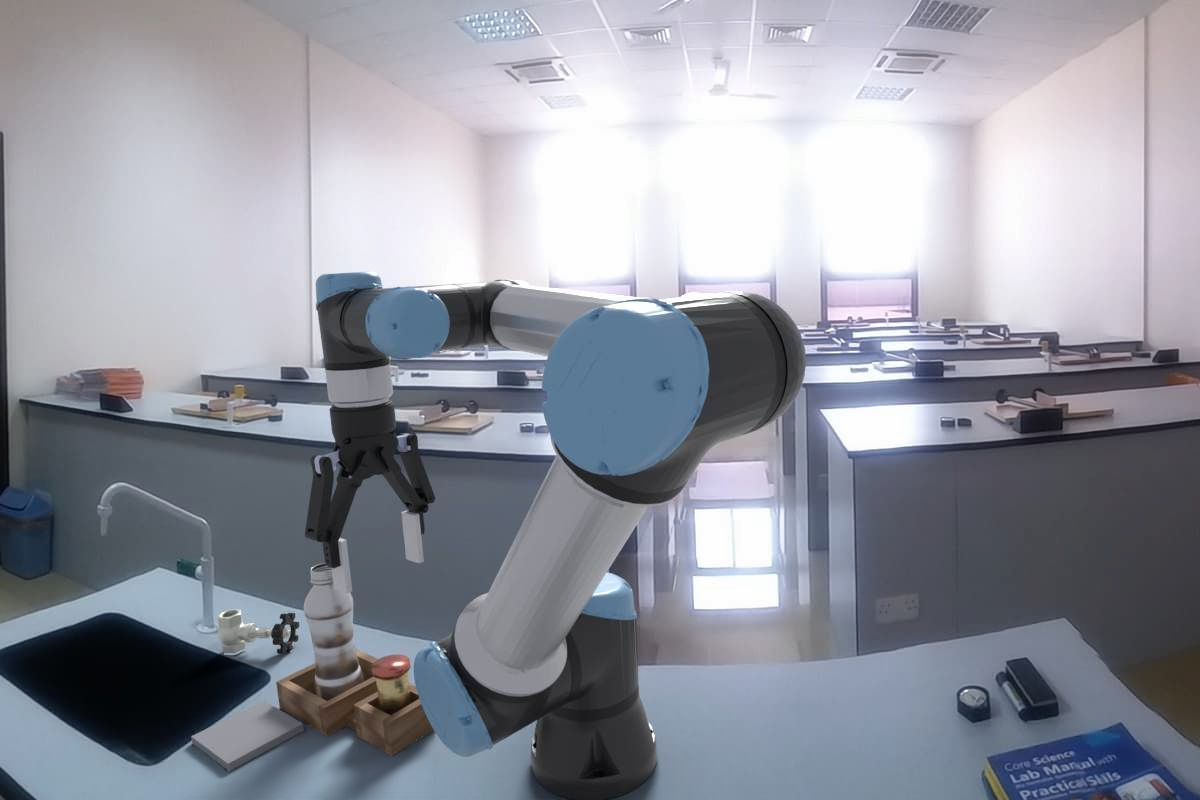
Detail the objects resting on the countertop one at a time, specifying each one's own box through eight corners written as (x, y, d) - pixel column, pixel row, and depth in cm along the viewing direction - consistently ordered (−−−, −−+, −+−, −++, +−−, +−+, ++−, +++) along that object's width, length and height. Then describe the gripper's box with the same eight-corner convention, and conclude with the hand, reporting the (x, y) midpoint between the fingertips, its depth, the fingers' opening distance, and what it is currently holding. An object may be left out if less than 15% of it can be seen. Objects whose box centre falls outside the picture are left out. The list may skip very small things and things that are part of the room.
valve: (210, 661, 123) (280, 662, 121) (204, 622, 121) (275, 623, 120) (235, 641, 129) (302, 642, 127) (229, 604, 128) (297, 604, 126)
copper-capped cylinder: (422, 707, 100) (417, 660, 99) (392, 725, 97) (386, 677, 96) (399, 696, 103) (394, 651, 102) (369, 713, 100) (363, 666, 99)
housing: (451, 718, 103) (448, 687, 102) (377, 765, 94) (373, 732, 93) (353, 670, 117) (349, 643, 116) (279, 707, 108) (275, 678, 107)
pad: (303, 730, 102) (302, 723, 102) (229, 771, 94) (228, 763, 94) (265, 706, 108) (264, 700, 108) (192, 743, 101) (191, 736, 100)
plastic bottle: (351, 715, 105) (334, 577, 101) (306, 712, 106) (288, 576, 103) (374, 690, 111) (359, 559, 108) (331, 687, 112) (315, 558, 109)
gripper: (416, 385, 104) (432, 541, 108) (255, 416, 87) (280, 601, 90) (453, 388, 99) (468, 551, 103) (291, 422, 82) (316, 616, 86)
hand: (380, 574), depth 97 cm, fingers open, 10 cm apart
